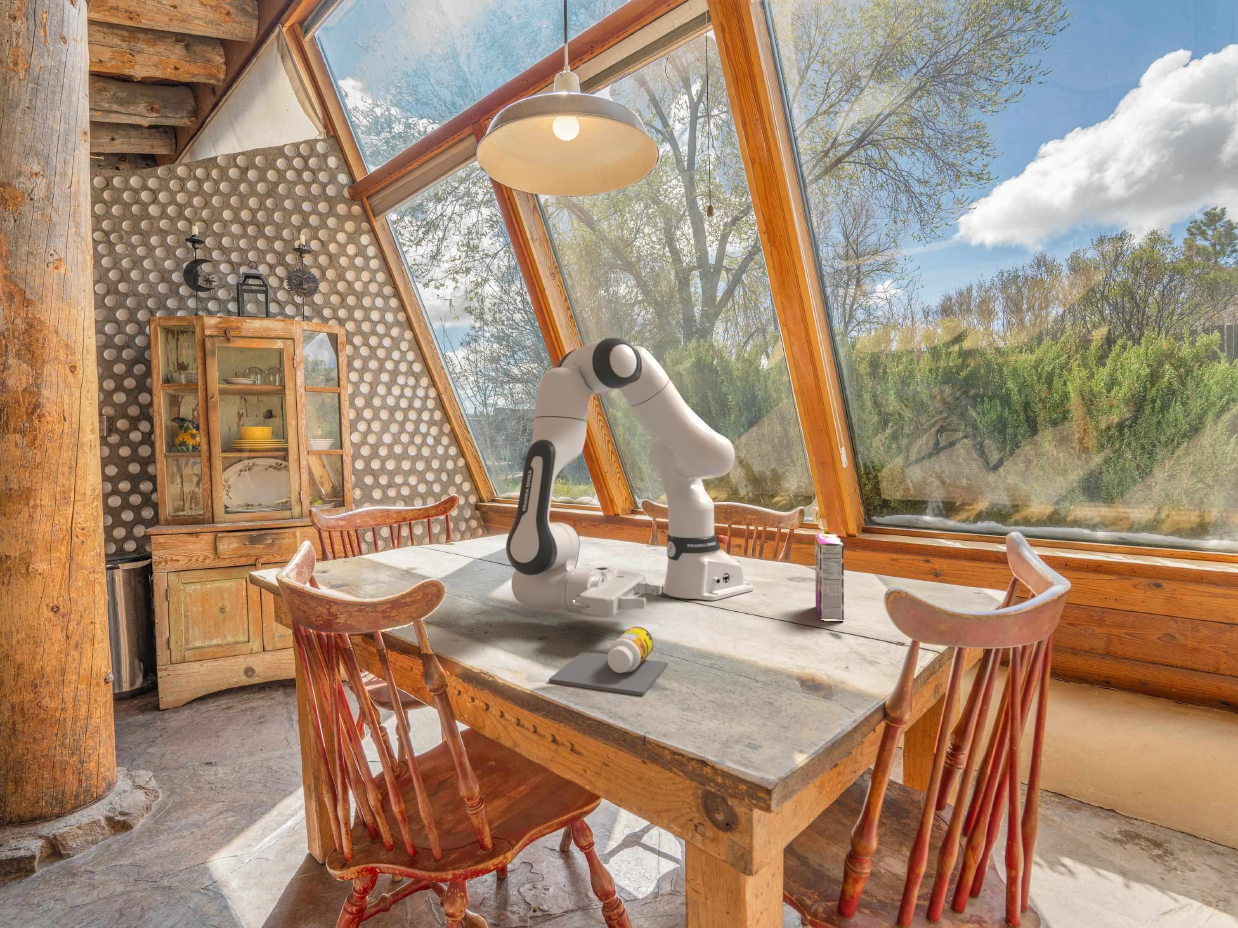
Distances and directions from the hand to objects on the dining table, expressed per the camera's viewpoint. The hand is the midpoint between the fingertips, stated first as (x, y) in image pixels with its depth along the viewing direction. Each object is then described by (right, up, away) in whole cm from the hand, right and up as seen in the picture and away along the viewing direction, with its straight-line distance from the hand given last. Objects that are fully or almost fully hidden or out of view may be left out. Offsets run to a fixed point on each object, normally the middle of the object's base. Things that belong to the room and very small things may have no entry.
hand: (653, 596), depth 125 cm
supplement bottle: (-3, -5, -12) cm, 13 cm away
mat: (-8, -9, -18) cm, 22 cm away
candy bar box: (+38, -7, +13) cm, 41 cm away
